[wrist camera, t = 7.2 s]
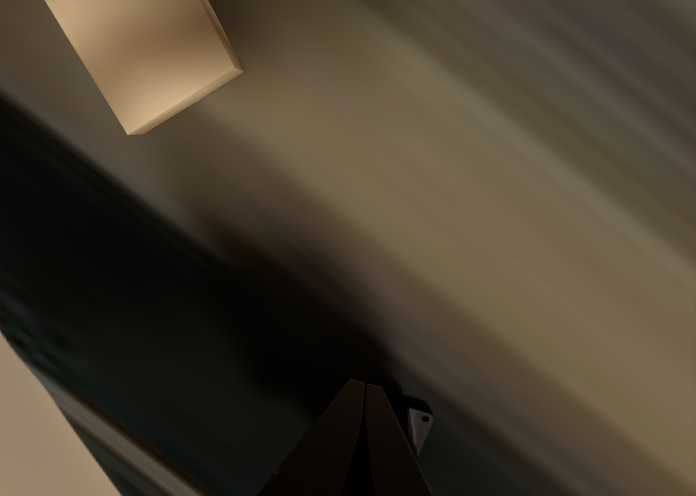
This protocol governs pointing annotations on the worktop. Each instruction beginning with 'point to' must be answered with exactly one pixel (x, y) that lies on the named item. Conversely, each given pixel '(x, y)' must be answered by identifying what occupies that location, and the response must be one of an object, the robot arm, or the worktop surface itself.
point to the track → (149, 54)
